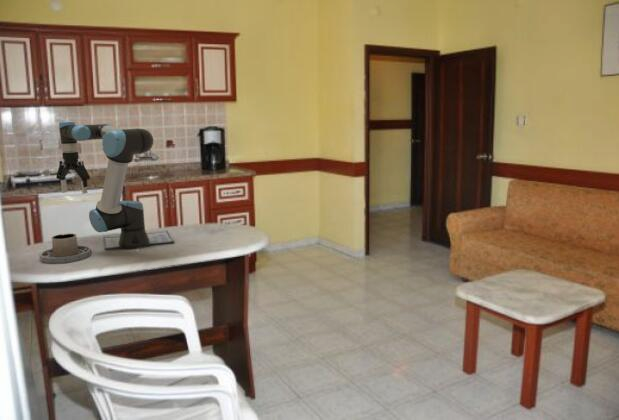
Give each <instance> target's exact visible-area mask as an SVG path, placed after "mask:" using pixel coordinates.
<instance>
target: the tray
mask: <svg viewBox="0 0 619 420" xmlns="http://www.w3.org/2000/svg"><path fill="white" fill-rule="evenodd" d="M77 245H78V254H77V255H74V256H69V257H59V258H56V257H54V255H53V247H52V248H50V249H47V250H43V251H42V252H41V253H39V254H38V255H39V260H40V262H42V263H44V264H51V265H56V264H57V265H58V264H60V265H61V264H67V263H74V262H78V261H82V260H84V259H87V258H89V257H90V256H91V255H92V252H93V251H92V250H93V249H92V248H91V247H90V246H88V245H80V244H77Z"/></svg>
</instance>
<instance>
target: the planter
mask: <svg viewBox="0 0 619 420" xmlns="http://www.w3.org/2000/svg"><path fill="white" fill-rule="evenodd" d="M51 244H52V248H53V255H54V257H56V258H59V257H69V256H74V255H77V254H78V245H79V244H78V237H77V234H75V233H61V234H56V235H53V236H52V237H51Z"/></svg>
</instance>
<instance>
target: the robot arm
mask: <svg viewBox="0 0 619 420" xmlns="http://www.w3.org/2000/svg"><path fill="white" fill-rule="evenodd" d="M58 130H59V138H60V145H61V152H62V154H61V155H62V160H60V161H59V163H58V164H59V166H58V169H57V173H56V175H55V176H56V177H55V178H56V179H58V180H59V183H60V187H61V192H62V194H63V193H68V186H67V179H66V177H67V175H68V173H69V172H70V171H75V173H76V174H77V175H78V177H79V178H80V179H81V180H80V183H81V184H80V185H81V192H82V194H83V195H84V194H88V186H89V185H88V180H90V179H91V176H90V174H89V173H88V170H87V169H86V166H85V164H84V161H83V160H82V161H81V160H80V161H79V159H80V155H79V152H78V150H79V149H78V142H85V141H93V140H102V142H101V145H102V151H103V153H104V155H105V157H106V159H107V160H108V162H107V168H106V172H105V177H104V183H103V186H102V192H101V197H100V200H98V201H97V202H96V205H95V208H92V209H91V210H89V213H88V219H89V223H90V224H91V227H92V228H93V230H94V231H95V232H97V233H106V232H109V231H114V230H118V229H119V230H120V235H119V241H118V248H119V249H123V250H136V249H141V248H146V247H148V246H149V245H150V244H151V243H150V238H149V236H148V234H147V231H146V228H145V227H146V225H145V215H144V211H145V210H144V205H143V203H142V202H141V201H139V200H138V201H137V200H121V199H122V194H123V189H124V185H125V180H126V175H127V170H128V167H129V164H130V163H132V162H133V159H134V155H142V154H145V153H147V152H149V151H150V150H151V149H152V148H153V146H154V137H153V134H152V133H151V132H150V131H149V130H148V129H144V128H125V127H120V126H113V125H112V124H110V123H102V124H77V125H76V122H75V121H74V120H69V121H67V120H65V121H64V120H63V121H60V122H59V123H58Z"/></svg>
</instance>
